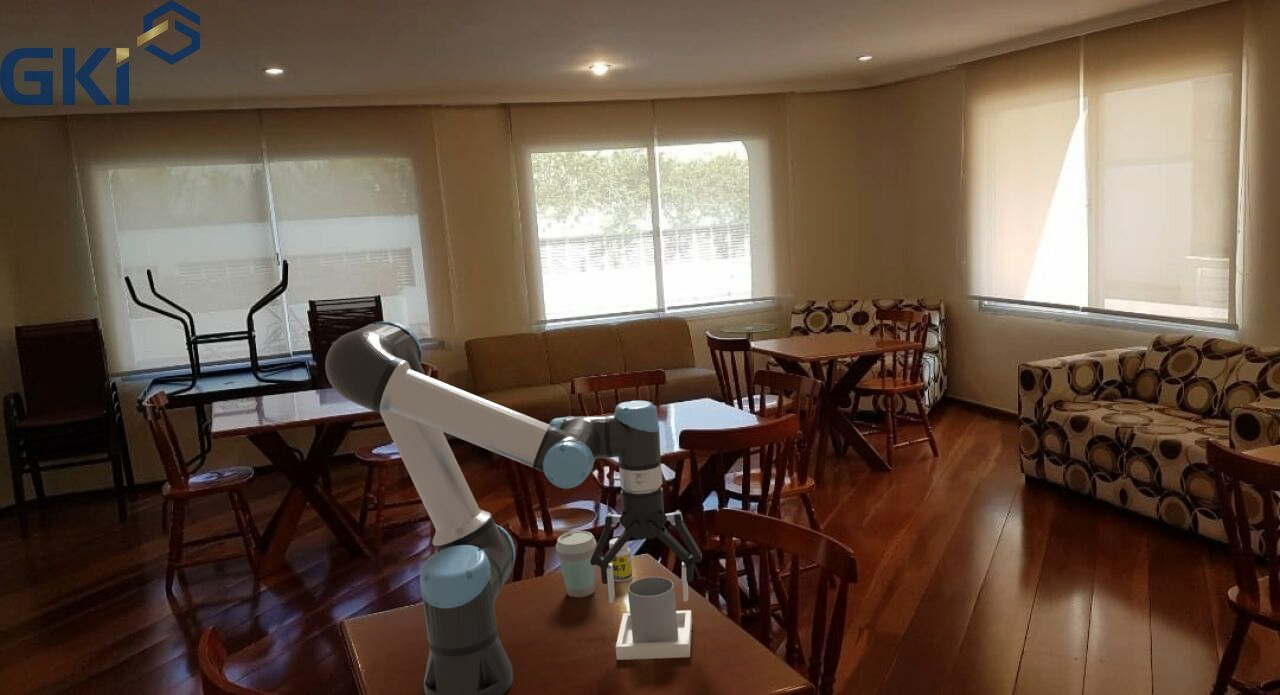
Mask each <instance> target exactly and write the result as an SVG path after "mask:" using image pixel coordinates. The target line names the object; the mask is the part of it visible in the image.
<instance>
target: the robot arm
mask: <svg viewBox="0 0 1280 695" xmlns="http://www.w3.org/2000/svg"><path fill="white" fill-rule="evenodd" d="M422 359H423V349H422V345H421V343H420V340H419V338H418V336H417V335H416V334H415V333H414V331H412V330H411V329H410V328H409V327H408V326H406V325H404V324H402V323H399V322H396V321H390V320H388V321H387V320H384V321H376V322H373V323H369V324H366V326H364V327H361V328H359V329H356V330H354V331H349V332H347V333H344V335H342V336H339V337H338V338H337V340H335V341H333V344H332V345H331V347H329V350H328V352H327V354H326V357H325V362H324V363H325V364H324V365H325V366H324V367H325V373H326V374H325V375H326V377H327V379H328V382H329V383H330V385H331V386H332V388H333V389H334V390H335V392H337V393H338V395H340V396H342V397H343V398H345V399H347V400H348V401H349V402H352V403H354V404H356V405H357V406H358V405H359V406H361V407H364V408H366V409H367V410H370V411H372V412H376V413H378V414H380V416H381V418H382V420H383V422H384V425H385V426H386V429H387V431H388V434H389V436H390V437H391V439H392V441H393V443H394V445H395V447H396V449H397V452H398V453H399V456H400V458H401V459H402V462H403V464H404V466H405V468H406V470H407V472H408V475H409V476H410V478H411V480H412V483H413V485H414V487H415V489H416V492H417V494H418V495H419V497H420V499H421V501H422V503H423V506H424V508H425V510H426V512H427V513H428V516H429V518H430V520H431V522H432V524H433V526H434V528H435V534H434V536H433V538H432V544H433V546H434V548H435V550H436V552H435V553H433V554H431V555H430V556H429V557H428V558H427V559H426V560H425V561H424V562H423V563H422V566H421V568H420V572H419V578H420V579H419V580H420V581H419V584H420V586H419V589H420V590H419V591H420V594H421V597H422V598H421V599H422V606H423V613H424V620H425V626H426V633H427V639H428V646H429V654H428V659H427V664H426V668H425V673H424V674H425V675H424V679H423V689H424V695H504V694H505V693H506V692H508V690H509V689H510V688H511V686H512V685H513V682H514V674H513V672H514V671H513V666H512V663H511V660H510V658H509V657H508V654H507V652H506V650H505V649H504V646H503V644H502V642H501V641H500V638H499V634H498V626H497V620H496V619H497V618H496V610H495V601H496V600H497V598H498V596H499V594H500V593H501V591H502V590H503V586H505V583H506V582H507V581H508V579H509V578H510V577H511V574H512V571H513V568H514V566H515V565H514V564H515V560H516V547H515V544H514V541H513V538H512V536H511V535H510V534H509V532H508V531H507V530H506V529H505V528H504V527H502V526H500V525H498V524H496V522H495V520H494V518H493V515H492V514H491V513H490V512H489V511H485V510H483V509H481V508H479V505H478V504H477V501H476V499H475V496H474V494H473V493H472V491H471V489H470V486H469V485H468V482H467V480H466V477H465V476H464V474H463V472H462V470H461V467H460V465H459V464H458V461H457V459H456V457H455V454H454V452H453V450H452V448H451V446H450V444H449V442H448V440H447V438H446V436H445V434H448V435H450V436H454V437H456V438H458V439H461V440H463V441H465V442H468V443H470V444H472V445H475V446H478V447H480V448H482V449H485V450H488V451H490V452H493V453H495V454H498V455H500V456H503V457H505V458H508V459H511V460H513V461H516V462H518V463H521V464H523V465H526V466H528V467H531V468H533V469H535V470H538V471H539V472H543V473H544V475H545V477H546V479H547V480H548V481H549V482H550V483H551V484H552V485H554V486H556V487H558V488H561V489H573V488H576V487H577V486H580V485H581V484H582V483H584V481H585V480H586V479H587V477H589V474H590V473H592V471H593V468H594V463H595V461H596V459H606V458H608V459H609V458H618V468H619V482H620V484H619V485H620V488H621V490H620V498H621V500H620V501H621V510H622V511H621V514H614V513H613V512H612V511H608V512H607V513H606V515H605V518H604V528H603V531H602V533H601V535H600V538H599V539H598V542H597V543H596V544H597V545H596V547H595V551H594V553H593V555H592V558H591V561H590V563H591V565H595V566H597V567H599V569H600V573H601V574H600V575H601V583H602V585H607V590H608V603H609V604H613V603H614V601H615V597H616V594H615V590H616V589H615V581H614V577H613V563H610V562H611V561H612V559H613V558H614V557H615V556H616V554H617V553H618V552H619V551H620V549H621V548H622V547H623V546H624V544H625V543H626V542H627V541H628V542H629V541H630V539H631V537H633V538H634V539H635V540H641V539H648V540H649V539H650V540H651V539H652V540H653V539H654V538H655V537H657V539H658V540H660V541H661V542H663V543H664V544H665V545H666V546H667V548H669V549H670V550H671V551H672V552H673V554H674V555H675V556H676V557H678V558H679V559H680V561H681V578H682V579H681V580H682V596H683V598H682V599H683V602H688V601H689V585H688V584H689V583H692V582H693V581H694V564H696V563H697V564H700V563H702V559H703V553H702V551H701V549H700V548H699V546H698V544H697V543H696V541H695V539H694V537H693V535H692V534H691V533H690V531H689V529H688V527H687V525H686V524H685V523H684V519H683V514H682V510H680V509H676V510H675V511H674V512H669V513H666V511H665V505H664V503H665V502H664V491H663V487H661V486H662V485H663V474H662V461H661V460H662V458H661V457H662V456H661V436H660V425H659V416H658V409H657V406H656V405H655V404H654V403H652V402H651V401H647V400H631V401H624V402H620V403H619V404H617V405H616V406H615V410H614V414H609V415H590V416H589V415H588V416H587V415H584V416H583V415H582V416H572V415H568V416H563V417H555V418H553V419H551V421H550V423H546V422H544V421H540V420H539V419H536V418H534V417H531V416H528V415H527V414H524V413H521V412H518V411H517V410H514V409H511V408H508V407H506V406H503V405H501V404H498V403H496V402H493V401H491V400H489V399H486V398H484V397H480V396H478V395H476V394H473V393H471V392H469V391H466V390H463V389H461V388H458V387H456V386H453V385H450V384H449V383H446V382H443V381H440V380H439V379H436V378H434V377H431V376H428V375H426V373H425V370H424V368H423V366H422V361H423V360H422ZM444 433H445V434H444ZM667 521H669V522H670V524H671V525H672V526H675V528H676V530H677V532H678V534H679V536H680V537H681V539H682V540H683V542H684V544H685V546H686V547H687V550H689V551H687V550H686V549H685V548H684V546H683V545H681V543H679V541H678V540H677V539H676V538H675V537H674V536H672V534H671V533H670V532H669V531H668V529H667V527H665V525H666V523H667ZM618 523H620V524H621V525H622V526H623V528H624V529H623V532H622V533H621V534H620V535H619V537H617V538H618V539H617V541H616V542H615V543H614V544H613V546H612V547H611V548H610V547H609V549H608V550H607V552H606V553H605V554H604V555H603V556H601V555H602V552H603V549H604V548H605V545H606V544H607V540H608V539H609V536H610V534H611V531H612V528H615V527H616V526H617V524H618ZM689 552H690V553H689Z"/></svg>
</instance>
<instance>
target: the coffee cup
mask: <svg viewBox="0 0 1280 695" xmlns="http://www.w3.org/2000/svg"><path fill="white" fill-rule="evenodd" d="M597 544H598V543H597V541H596V539H595V537H594V535H593V534H592V532H589V531H585V530H576V531H575V530H574V531H569V532H566V533H564V534H562V535H560V536H558V538H557V541H556V544H555V551H556V552H557V554H558V559H559V564H560V567H561V573H562V577H563V579H564V581H563V582H564V585H565V589H566V592H567V593H566V594H567V595H568V596H570V598H571V597H572V598H585V597H587V596H590V595H592V594H593V593H594V592H595V589H596V587H595V586H596V565H591V563H590V561H591V558H592V555H593V553H594V551H595V548H596V546H597Z"/></svg>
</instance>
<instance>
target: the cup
mask: <svg viewBox="0 0 1280 695" xmlns="http://www.w3.org/2000/svg"><path fill="white" fill-rule="evenodd" d="M627 594H628V596H627V597H628V603H629V613H630V617H631V627H632V638H633V641H634V643H657V642H675V641H676V640H677V638H678V626H677V615H676V611H677V606H676V605H677V604H676V595H675V594H676V593H675V584H674V582H673V581H672V580H671V579H668V578H666V577H664V576H662V577H661V576H649V577H643V578H640V579H639V578H638V579H635V580H634V581H633V582H631V583H629V585H628V587H627Z"/></svg>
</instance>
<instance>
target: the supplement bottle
mask: <svg viewBox="0 0 1280 695" xmlns="http://www.w3.org/2000/svg"><path fill="white" fill-rule="evenodd" d="M618 538H619V537H616V538H612V539H610V540H609V542H608V546H609V549H610V548H611V547H612V546H613V544H614V543H615V542H616V541H617V539H618ZM610 563H613V577H614V582H617V583H620V582H621V583H623V582H627V581H629V580H631V579H632V577H633V568H632V566H633V565H632V556H631V549H630V548H629V540H628V541H627V542H626V543H625V544H624V546H623V547H622V548H621V549H620V551H619V552H618V553H617V554H616V556H615V557H614V558H613V559H612V561H611V562H610Z"/></svg>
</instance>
